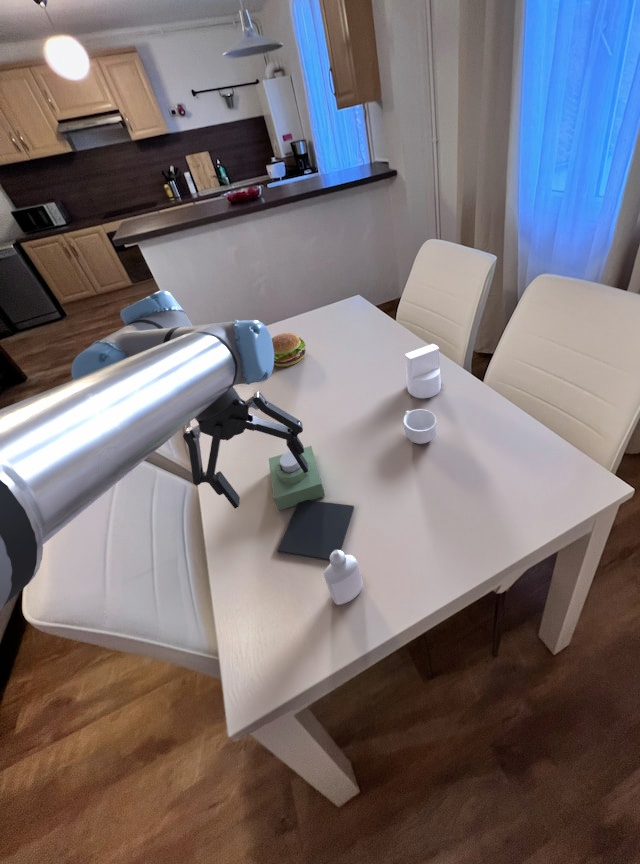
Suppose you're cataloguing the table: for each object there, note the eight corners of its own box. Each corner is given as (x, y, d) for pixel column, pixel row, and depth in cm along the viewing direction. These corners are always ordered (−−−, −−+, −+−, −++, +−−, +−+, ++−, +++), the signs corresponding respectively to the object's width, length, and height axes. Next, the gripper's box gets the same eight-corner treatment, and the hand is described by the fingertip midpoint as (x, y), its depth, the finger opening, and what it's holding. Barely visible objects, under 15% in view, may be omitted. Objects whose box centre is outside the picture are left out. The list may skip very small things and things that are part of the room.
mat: (337, 562, 73) (336, 560, 72) (277, 552, 76) (276, 550, 76) (354, 507, 82) (353, 505, 82) (300, 500, 85) (299, 498, 85)
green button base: (325, 496, 85) (319, 477, 82) (278, 510, 84) (271, 492, 80) (314, 457, 95) (309, 439, 91) (273, 470, 93) (266, 452, 90)
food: (261, 356, 138) (254, 336, 133) (299, 343, 141) (294, 323, 137) (271, 375, 127) (264, 354, 122) (312, 360, 131) (307, 339, 126)
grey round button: (303, 469, 85) (301, 462, 84) (283, 475, 84) (280, 469, 83) (300, 455, 88) (298, 448, 87) (280, 461, 88) (278, 454, 86)
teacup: (444, 439, 94) (443, 422, 91) (416, 453, 92) (415, 436, 88) (419, 417, 101) (418, 400, 98) (393, 429, 99) (391, 412, 96)
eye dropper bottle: (365, 602, 66) (354, 562, 59) (331, 606, 66) (317, 567, 60) (363, 576, 70) (353, 536, 63) (331, 581, 70) (317, 541, 63)
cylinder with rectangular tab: (418, 402, 106) (415, 364, 99) (401, 385, 113) (398, 349, 106) (447, 390, 109) (446, 353, 102) (429, 375, 116) (427, 338, 109)
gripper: (275, 345, 66) (331, 443, 75) (140, 414, 66) (211, 504, 75) (275, 358, 60) (337, 464, 68) (124, 435, 59) (205, 532, 68)
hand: (271, 485), depth 71 cm, fingers open, 13 cm apart
